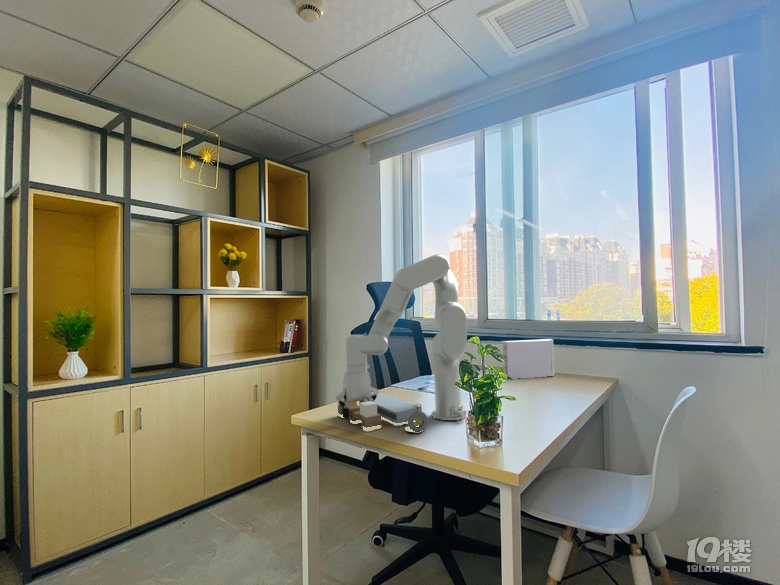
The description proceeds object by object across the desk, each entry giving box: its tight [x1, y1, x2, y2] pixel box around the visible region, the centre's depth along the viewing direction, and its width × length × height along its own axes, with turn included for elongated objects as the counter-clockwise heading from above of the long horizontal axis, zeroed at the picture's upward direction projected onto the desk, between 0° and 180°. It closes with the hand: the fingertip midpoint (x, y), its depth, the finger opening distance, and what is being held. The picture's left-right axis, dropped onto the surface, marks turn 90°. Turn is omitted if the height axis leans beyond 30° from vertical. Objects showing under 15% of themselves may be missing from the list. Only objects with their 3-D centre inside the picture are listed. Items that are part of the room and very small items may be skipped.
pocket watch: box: [407, 403, 429, 433], centre depth 127 cm, size 8×8×10 cm
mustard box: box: [341, 397, 358, 408], centre depth 146 cm, size 4×4×4 cm
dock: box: [358, 393, 423, 423], centre depth 146 cm, size 26×12×5 cm, turn 33°
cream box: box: [359, 401, 377, 417], centre depth 133 cm, size 4×4×4 cm
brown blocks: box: [337, 404, 382, 428], centre depth 139 cm, size 22×6×4 cm, turn 33°
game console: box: [502, 338, 555, 380], centre depth 209 cm, size 6×27×20 cm, turn 98°
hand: (358, 415), depth 139 cm, fingers open, 9 cm apart
